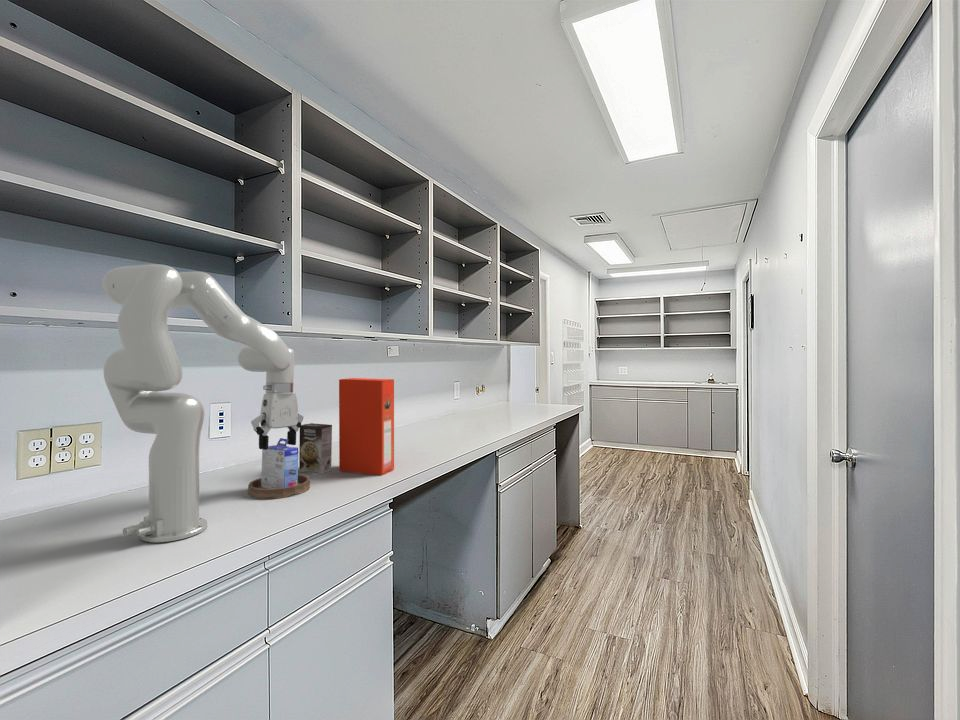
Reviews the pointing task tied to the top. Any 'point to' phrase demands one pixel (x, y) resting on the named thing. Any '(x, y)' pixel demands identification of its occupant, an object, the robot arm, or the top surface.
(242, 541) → the top surface
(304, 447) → the coffee box
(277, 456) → the ink cartridge box
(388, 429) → the file binder
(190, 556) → the top surface
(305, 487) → the round tray
